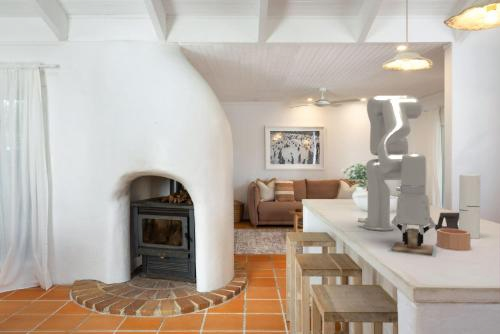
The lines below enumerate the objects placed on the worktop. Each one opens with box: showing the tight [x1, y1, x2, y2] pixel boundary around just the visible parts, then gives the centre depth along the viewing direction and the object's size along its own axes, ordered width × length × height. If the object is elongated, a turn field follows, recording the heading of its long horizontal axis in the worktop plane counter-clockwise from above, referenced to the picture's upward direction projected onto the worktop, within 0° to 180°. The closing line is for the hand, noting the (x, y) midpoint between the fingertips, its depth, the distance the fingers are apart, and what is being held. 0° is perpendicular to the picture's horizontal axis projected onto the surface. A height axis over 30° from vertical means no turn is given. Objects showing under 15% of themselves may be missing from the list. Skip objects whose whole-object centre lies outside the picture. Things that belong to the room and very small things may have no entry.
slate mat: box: [387, 242, 438, 258], centre depth 119 cm, size 14×14×1 cm
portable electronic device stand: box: [434, 212, 459, 231], centre depth 154 cm, size 9×8×8 cm
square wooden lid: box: [391, 228, 434, 257], centre depth 119 cm, size 12×12×7 cm
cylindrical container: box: [458, 174, 481, 239], centre depth 142 cm, size 7×7×25 cm
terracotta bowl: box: [436, 229, 471, 252], centre depth 122 cm, size 10×10×6 cm
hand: (412, 244), depth 119 cm, fingers closed on square wooden lid, 3 cm apart
